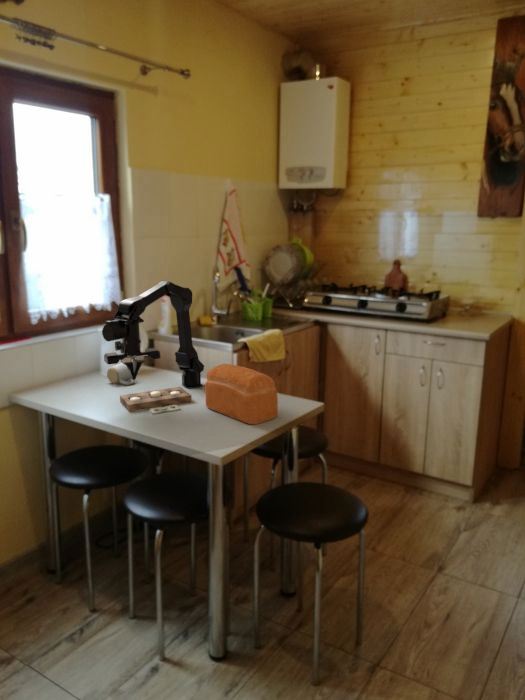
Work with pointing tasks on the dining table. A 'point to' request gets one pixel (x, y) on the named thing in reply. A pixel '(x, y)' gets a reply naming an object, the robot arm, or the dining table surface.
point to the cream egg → (134, 398)
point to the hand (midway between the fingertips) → (133, 379)
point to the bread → (241, 393)
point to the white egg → (174, 392)
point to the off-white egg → (155, 394)
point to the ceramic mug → (119, 374)
